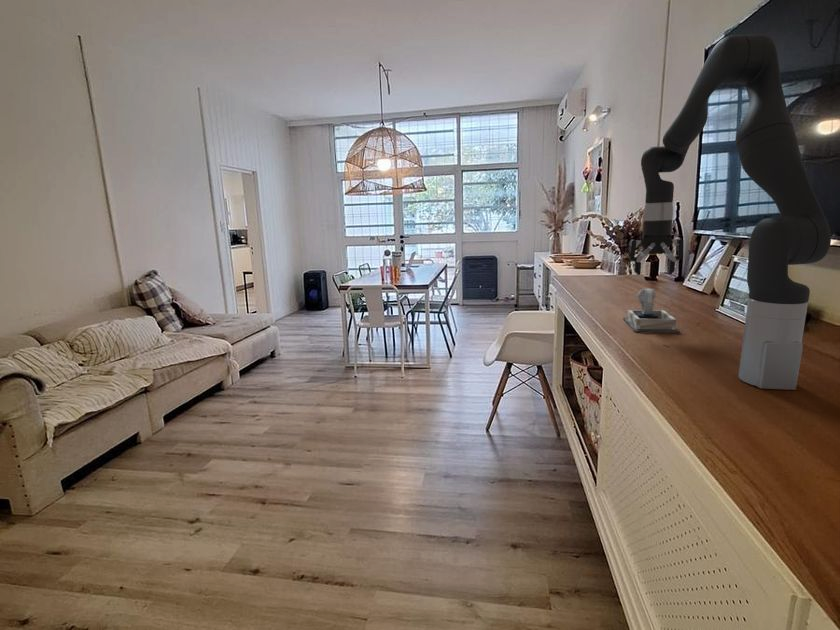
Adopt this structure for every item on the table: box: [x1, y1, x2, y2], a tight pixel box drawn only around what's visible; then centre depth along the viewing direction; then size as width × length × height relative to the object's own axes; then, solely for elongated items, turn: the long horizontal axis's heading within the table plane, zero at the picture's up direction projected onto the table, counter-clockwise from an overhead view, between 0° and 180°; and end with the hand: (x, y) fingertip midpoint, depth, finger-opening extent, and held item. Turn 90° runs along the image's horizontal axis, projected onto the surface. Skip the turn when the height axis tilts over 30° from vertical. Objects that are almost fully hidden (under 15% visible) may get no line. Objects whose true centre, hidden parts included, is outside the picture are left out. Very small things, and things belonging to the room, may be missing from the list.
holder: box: [622, 309, 681, 334], centre depth 134 cm, size 16×12×4 cm
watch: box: [636, 287, 658, 319], centre depth 133 cm, size 6×8×11 cm
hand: (653, 274), depth 131 cm, fingers open, 8 cm apart
